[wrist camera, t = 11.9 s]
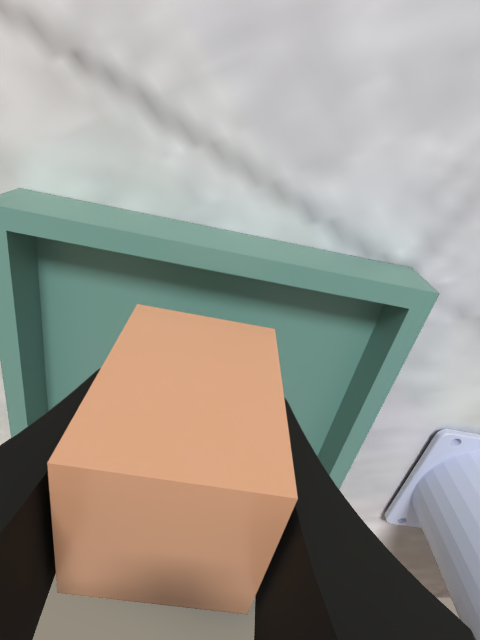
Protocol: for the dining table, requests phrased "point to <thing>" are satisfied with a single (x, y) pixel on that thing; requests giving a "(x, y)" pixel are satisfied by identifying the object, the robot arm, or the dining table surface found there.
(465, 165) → the dining table surface
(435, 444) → the robot arm
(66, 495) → the terracotta block
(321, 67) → the dining table surface
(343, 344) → the tray
